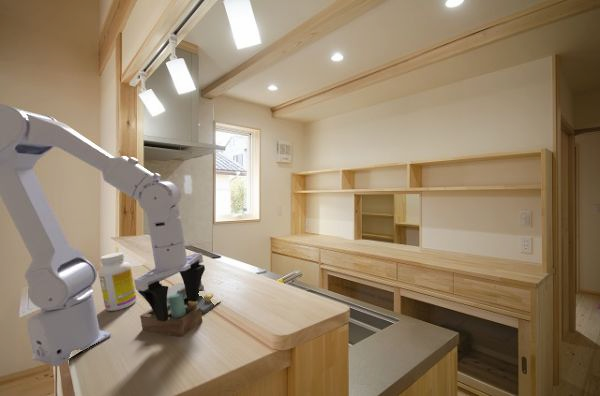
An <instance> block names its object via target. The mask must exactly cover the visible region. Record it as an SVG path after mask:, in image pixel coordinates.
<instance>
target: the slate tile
mask: <svg viewBox="0 0 600 396" xmlns="http://www.w3.org/2000/svg"><path fill="white" fill-rule="evenodd" d="M213 296H214V294H213V293H208V294H205V296H204V298H203V297H202V296H198V301H196V302H193V301H188V300H187V303H186V304H185V305H187V306H194V307H200V308H201V314H203V315H205V314H206V313H207V312H208V311H210V310H212V308H214V307H215V306H214V304H213V303H212V302H211V300H210V299H211V298H212V297H213Z"/></svg>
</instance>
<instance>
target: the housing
mask: <svg viewBox="0 0 600 396" xmlns="http://www.w3.org/2000/svg"><path fill="white" fill-rule="evenodd" d="M199 291H204V292H205V287H204V284H203V283H202V280H201V281H200V286H199ZM175 293H183V298H184V300H186V299H187V295H186V290H185V285H184V282H178V283H175V284H174V285H172V286H170V287H168V292H167V303H169V298H168V297H169V296H170V295H172V294H175ZM198 296H199V294H198Z"/></svg>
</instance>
